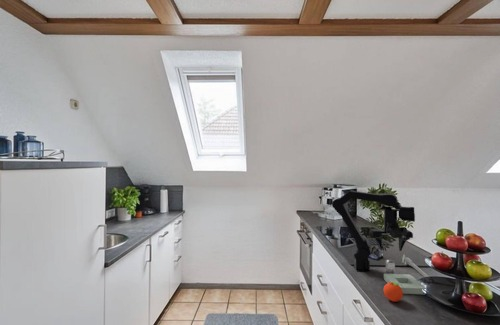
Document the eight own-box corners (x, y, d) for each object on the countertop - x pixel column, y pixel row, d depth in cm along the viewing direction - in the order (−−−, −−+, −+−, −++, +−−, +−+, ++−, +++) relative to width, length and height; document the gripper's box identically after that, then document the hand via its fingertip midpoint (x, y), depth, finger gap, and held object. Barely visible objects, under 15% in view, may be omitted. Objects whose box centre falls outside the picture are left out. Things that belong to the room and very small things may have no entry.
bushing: (387, 276, 128) (387, 262, 128) (384, 273, 132) (384, 259, 132) (396, 276, 127) (396, 262, 127) (392, 273, 131) (392, 259, 131)
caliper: (402, 264, 144) (402, 252, 144) (404, 263, 144) (404, 252, 144) (428, 280, 123) (428, 267, 123) (430, 280, 123) (430, 267, 123)
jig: (396, 293, 111) (396, 287, 111) (383, 278, 125) (383, 273, 125) (426, 294, 110) (426, 288, 110) (410, 279, 124) (410, 274, 124)
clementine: (399, 295, 109) (398, 278, 109) (409, 304, 102) (409, 286, 102) (380, 296, 109) (379, 279, 109) (389, 305, 102) (389, 287, 102)
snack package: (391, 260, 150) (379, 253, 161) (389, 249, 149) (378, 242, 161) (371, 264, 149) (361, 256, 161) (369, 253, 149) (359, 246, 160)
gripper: (377, 222, 123) (377, 255, 123) (419, 223, 121) (419, 257, 121) (368, 217, 134) (368, 248, 134) (407, 218, 132) (407, 249, 132)
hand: (390, 250), depth 130 cm, fingers open, 9 cm apart
